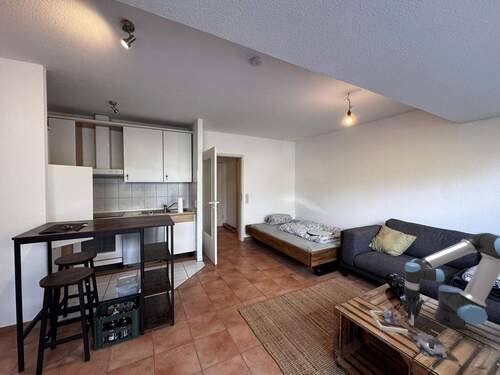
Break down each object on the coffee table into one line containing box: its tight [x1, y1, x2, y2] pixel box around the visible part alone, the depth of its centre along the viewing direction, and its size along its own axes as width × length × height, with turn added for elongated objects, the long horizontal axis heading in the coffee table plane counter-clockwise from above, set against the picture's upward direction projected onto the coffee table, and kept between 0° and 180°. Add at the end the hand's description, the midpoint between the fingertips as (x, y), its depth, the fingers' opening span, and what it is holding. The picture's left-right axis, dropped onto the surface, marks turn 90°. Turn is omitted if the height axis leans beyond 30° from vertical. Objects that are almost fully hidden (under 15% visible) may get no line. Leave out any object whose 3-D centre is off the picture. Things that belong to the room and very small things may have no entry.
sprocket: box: [413, 332, 451, 358], centre depth 113 cm, size 15×15×6 cm
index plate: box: [406, 333, 460, 363], centre depth 113 cm, size 16×16×1 cm
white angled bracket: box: [369, 309, 409, 335], centre depth 132 cm, size 15×17×4 cm
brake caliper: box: [381, 305, 401, 326], centre depth 134 cm, size 11×11×12 cm
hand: (411, 323), depth 130 cm, fingers closed
